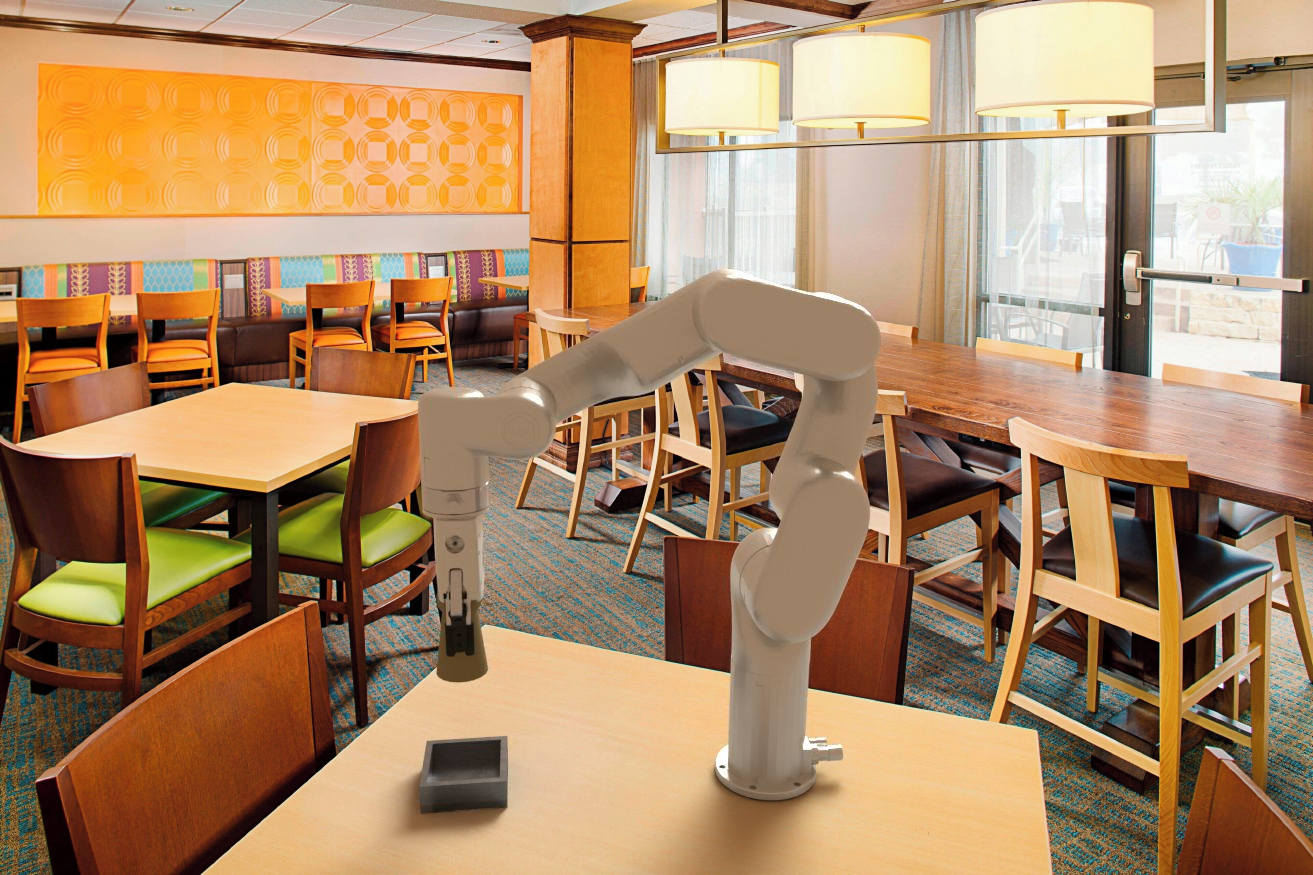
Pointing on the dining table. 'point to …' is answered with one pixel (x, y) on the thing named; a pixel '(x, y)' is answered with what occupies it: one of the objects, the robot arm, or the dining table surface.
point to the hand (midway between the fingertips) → (461, 644)
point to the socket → (464, 774)
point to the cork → (460, 664)
